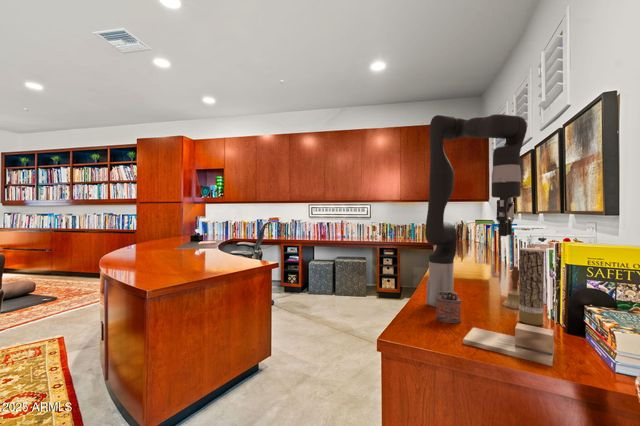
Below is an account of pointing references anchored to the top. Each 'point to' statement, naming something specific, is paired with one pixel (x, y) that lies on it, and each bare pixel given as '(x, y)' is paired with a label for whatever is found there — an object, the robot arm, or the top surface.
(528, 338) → the beige rectangular block
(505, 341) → the birch board
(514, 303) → the hand bell
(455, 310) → the lighter
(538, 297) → the bark textured post
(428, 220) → the robot arm
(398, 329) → the top surface
